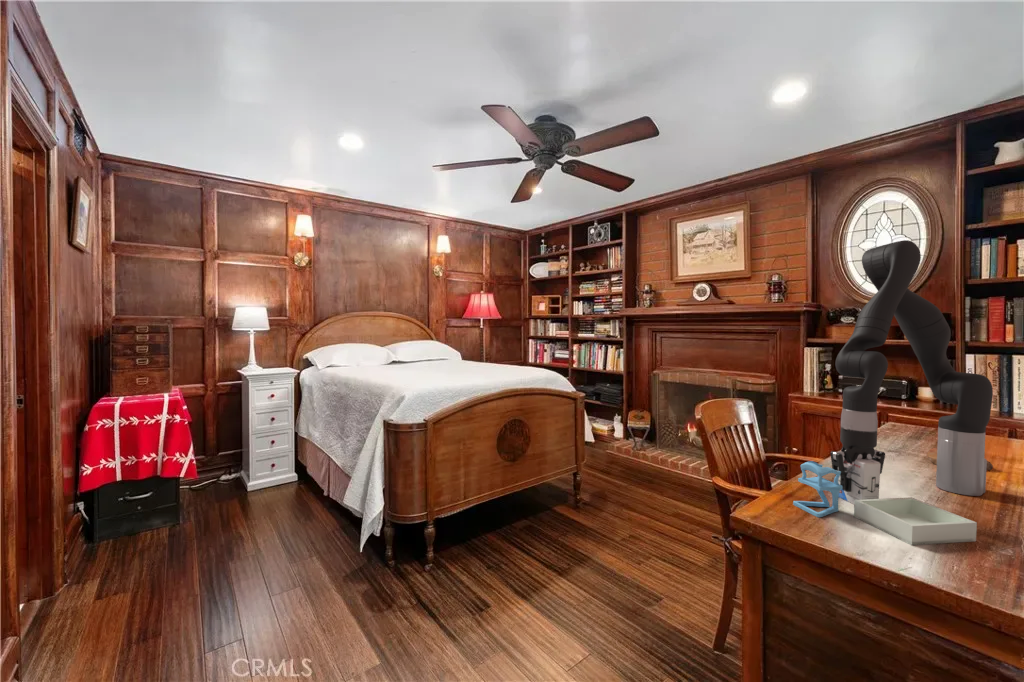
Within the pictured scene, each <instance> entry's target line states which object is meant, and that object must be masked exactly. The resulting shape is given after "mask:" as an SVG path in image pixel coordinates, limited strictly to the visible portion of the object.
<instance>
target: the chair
mask: <svg viewBox="0 0 1024 682" xmlns="http://www.w3.org/2000/svg"><path fill="white" fill-rule="evenodd" d="M800 470H801V472H802V474H801V475H802V476H801V477H798V478H797V479H798V480H797V482H799V483H801V484H804V485H807V486H808V487H812V488H813V489H815V490H816V492H817V494H818V495H819V496H820V499H821V501H806V500H793V502H792V505H793V506H794V507H796V508H799V509H801V510H803V511H804V512H806V513H809V514H810V515H812V516H815V517H817V518H822V517H826V516H828V515H831V514H834V513H836V512H839V498H840V497H839V492H840V490H841V489H842V488H843V486H842V485H839V483H838V479H839V476H840V474H841V472H840V471H836V470H834V469H832V468H831V467H829V466H825V467H824V465H823V464H819V463H818V462H816V461H812V460H810V461H806V462H804V463H802V464H800ZM806 471H810V472H811V473H814V474H815V475H816V476H813V477H807V472H806ZM828 474H834V475H835V476H834V478H833V481H830V480H829V479H827V478H824V476H826V475H828ZM824 491H826V492H830V493H831V498H832V505H831V506H830V501H829V500H828V498H827V496H826V494H825V492H824ZM810 507H817V508H818V507H819V508H825V509H823V510H821V511H816V510H814V509H812V508H810Z"/></svg>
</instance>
